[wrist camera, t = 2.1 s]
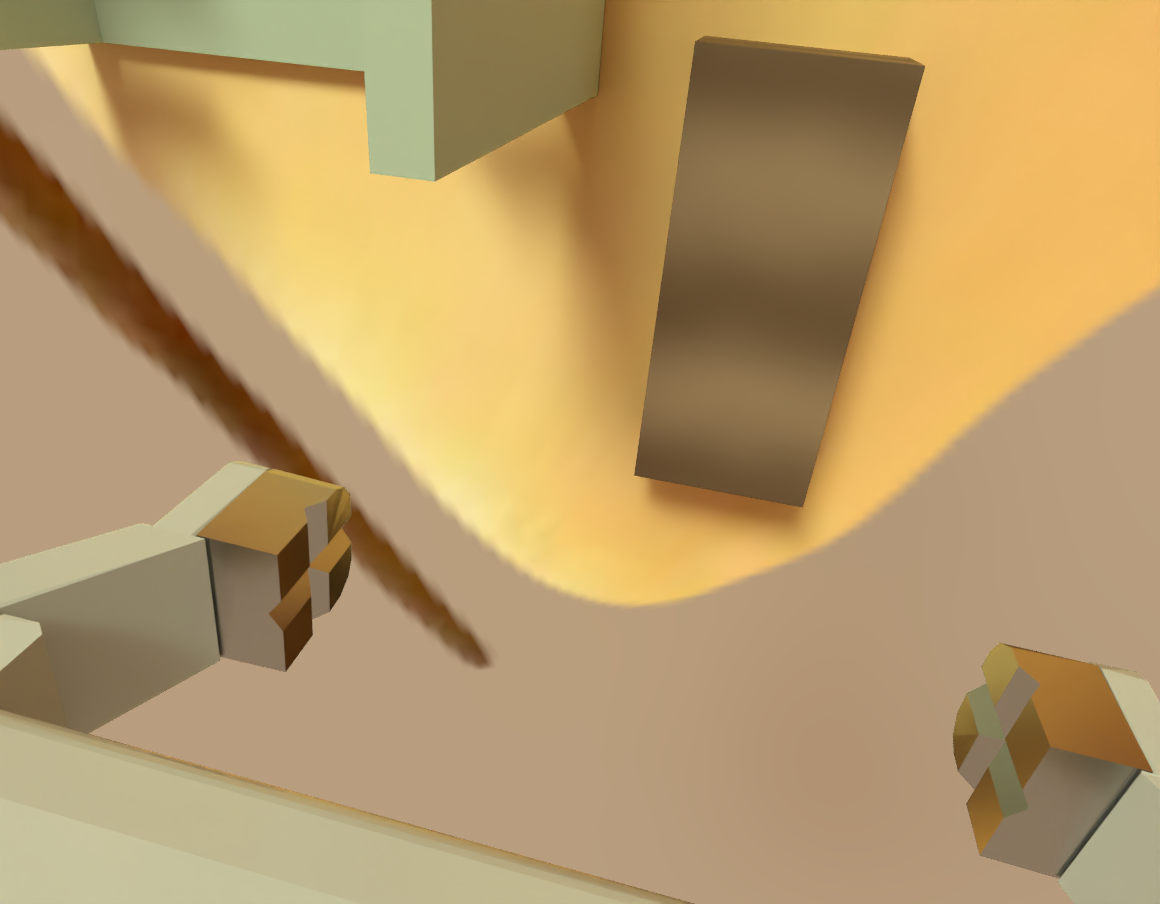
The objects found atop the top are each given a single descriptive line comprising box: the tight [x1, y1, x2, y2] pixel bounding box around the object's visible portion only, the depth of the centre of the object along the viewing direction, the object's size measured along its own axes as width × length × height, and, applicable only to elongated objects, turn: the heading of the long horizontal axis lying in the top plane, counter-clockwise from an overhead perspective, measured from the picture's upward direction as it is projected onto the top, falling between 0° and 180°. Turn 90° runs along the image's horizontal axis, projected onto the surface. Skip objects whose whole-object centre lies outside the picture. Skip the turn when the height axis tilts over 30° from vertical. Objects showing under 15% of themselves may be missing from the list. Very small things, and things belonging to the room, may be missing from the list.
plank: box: [634, 36, 925, 507], centre depth 26 cm, size 14×6×4 cm, turn 175°
